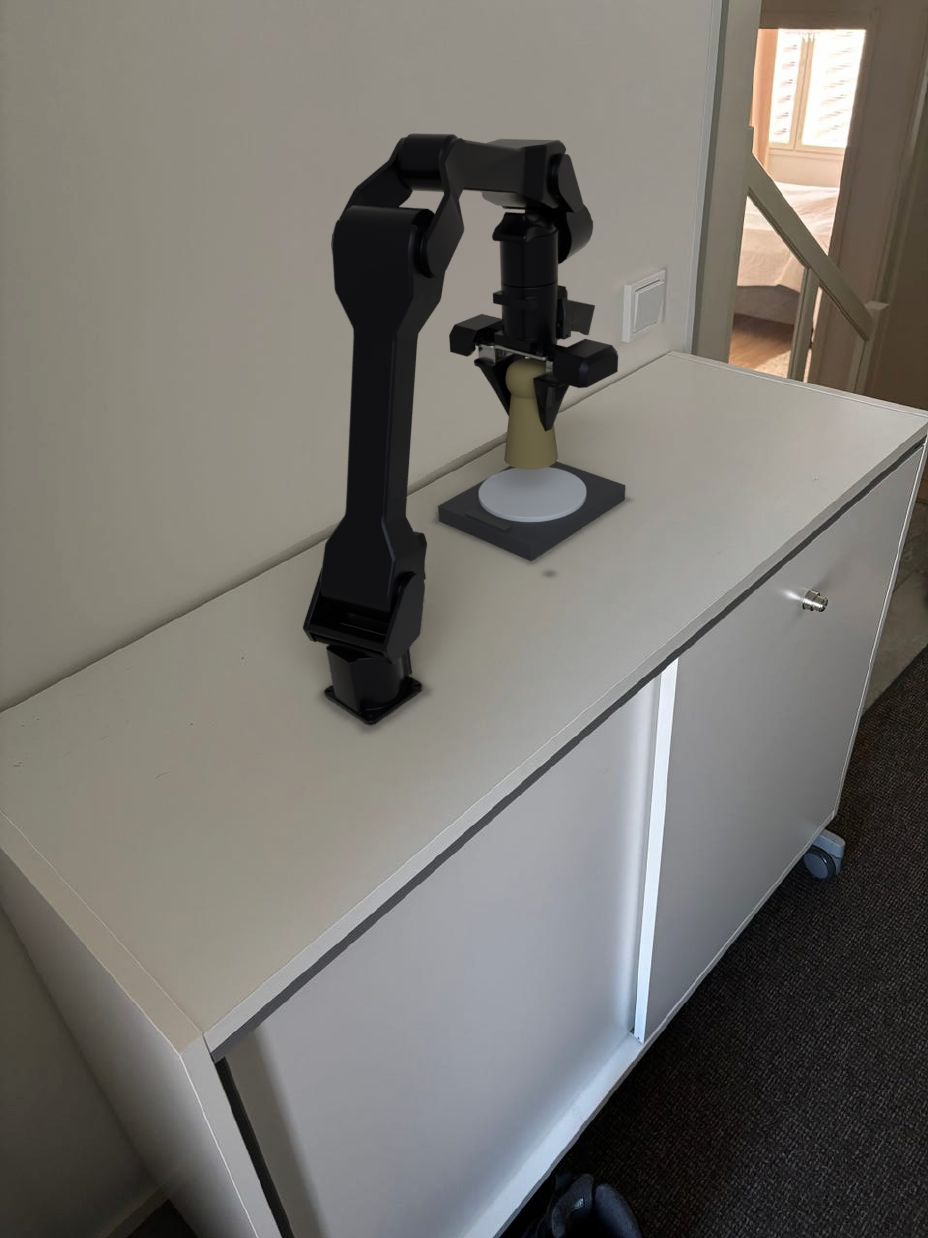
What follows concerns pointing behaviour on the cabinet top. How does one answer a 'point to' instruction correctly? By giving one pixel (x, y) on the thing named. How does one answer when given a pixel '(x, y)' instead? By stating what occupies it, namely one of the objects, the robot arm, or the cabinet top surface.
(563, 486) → the scale
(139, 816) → the cabinet top surface
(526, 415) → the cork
